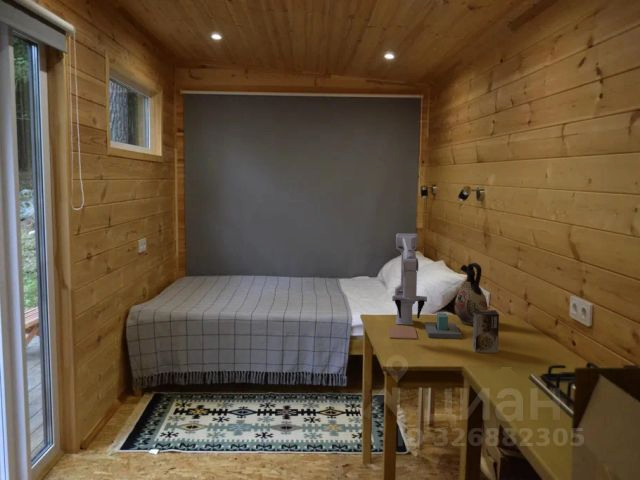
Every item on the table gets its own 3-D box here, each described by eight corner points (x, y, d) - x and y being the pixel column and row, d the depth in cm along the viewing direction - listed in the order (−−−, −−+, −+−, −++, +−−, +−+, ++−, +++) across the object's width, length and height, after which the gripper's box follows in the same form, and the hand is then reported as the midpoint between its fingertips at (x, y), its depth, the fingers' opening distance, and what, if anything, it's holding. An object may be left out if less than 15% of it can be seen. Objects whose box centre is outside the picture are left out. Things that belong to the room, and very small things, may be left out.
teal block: (436, 330, 244) (437, 313, 243) (445, 330, 244) (446, 313, 243) (438, 334, 239) (438, 316, 238) (447, 334, 238) (448, 316, 237)
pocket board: (424, 326, 251) (424, 321, 251) (454, 326, 250) (454, 322, 249) (428, 337, 233) (428, 333, 233) (461, 338, 232) (461, 334, 232)
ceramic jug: (447, 320, 260) (449, 260, 256) (472, 317, 267) (474, 258, 263) (470, 329, 245) (473, 265, 241) (496, 326, 251) (499, 263, 248)
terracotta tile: (388, 328, 248) (388, 326, 247) (414, 328, 246) (414, 327, 246) (389, 338, 232) (389, 337, 232) (417, 339, 231) (417, 337, 231)
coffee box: (494, 348, 219) (496, 309, 217) (498, 353, 213) (499, 314, 211) (471, 347, 220) (473, 309, 218) (474, 352, 214) (476, 313, 212)
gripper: (393, 288, 223) (392, 319, 224) (428, 288, 221) (427, 320, 223) (392, 284, 230) (391, 315, 231) (426, 285, 228) (425, 316, 230)
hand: (409, 317), depth 228 cm, fingers open, 7 cm apart
